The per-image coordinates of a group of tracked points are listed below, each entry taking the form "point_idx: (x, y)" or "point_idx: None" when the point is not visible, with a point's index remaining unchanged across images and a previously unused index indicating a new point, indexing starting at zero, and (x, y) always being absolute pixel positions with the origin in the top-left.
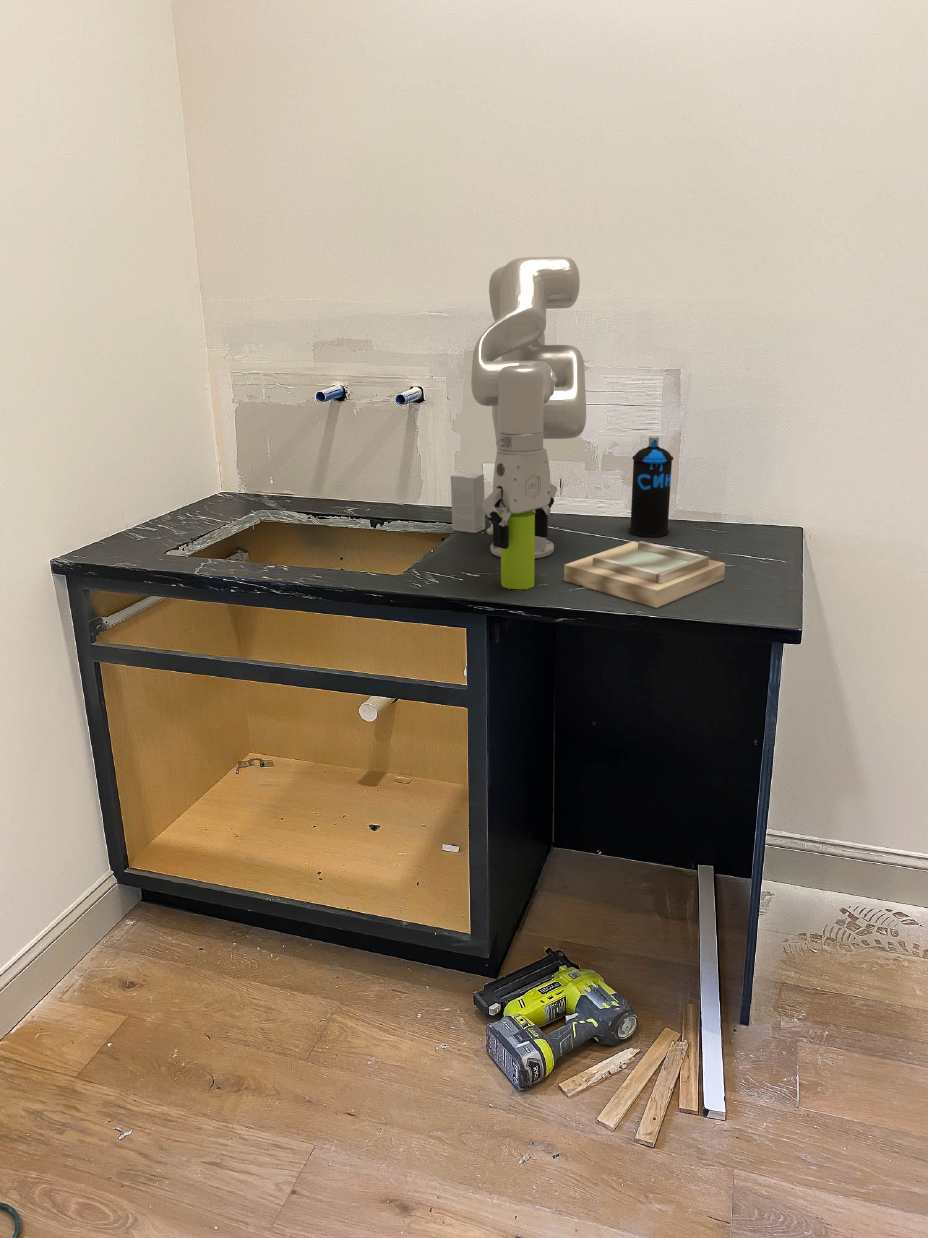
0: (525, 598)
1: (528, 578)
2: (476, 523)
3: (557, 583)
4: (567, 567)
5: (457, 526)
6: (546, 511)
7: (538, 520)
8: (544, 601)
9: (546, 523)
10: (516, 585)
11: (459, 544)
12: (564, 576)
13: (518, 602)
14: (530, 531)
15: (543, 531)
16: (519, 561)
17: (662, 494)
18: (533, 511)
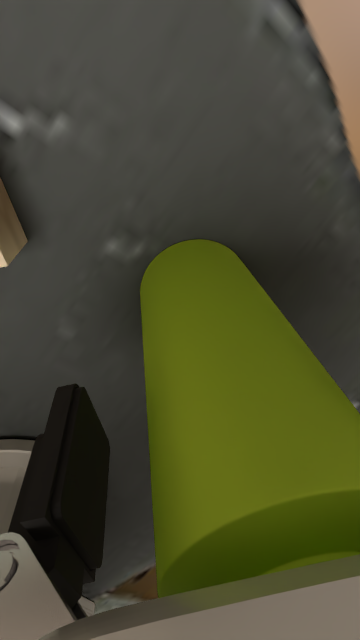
0: (265, 161)
1: (200, 252)
2: None
3: (66, 231)
4: (1, 244)
5: (88, 610)
6: (19, 567)
7: (86, 503)
8: (235, 75)
9: (50, 457)
10: (237, 257)
11: (130, 552)
12: (22, 245)
13: (314, 138)
14: (248, 381)
15: (79, 416)
16: (259, 292)
17: None
18: (167, 574)
